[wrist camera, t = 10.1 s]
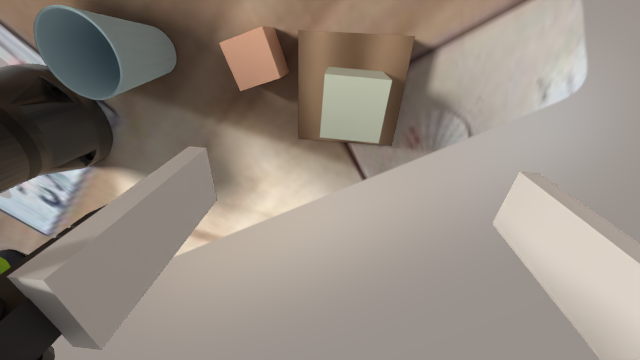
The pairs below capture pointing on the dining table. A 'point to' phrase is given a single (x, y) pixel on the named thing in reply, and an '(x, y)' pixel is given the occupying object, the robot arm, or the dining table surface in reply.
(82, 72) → the cup
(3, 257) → the beverage can
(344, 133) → the pale green cube
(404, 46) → the walnut block
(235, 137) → the dining table surface
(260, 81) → the terracotta cube
